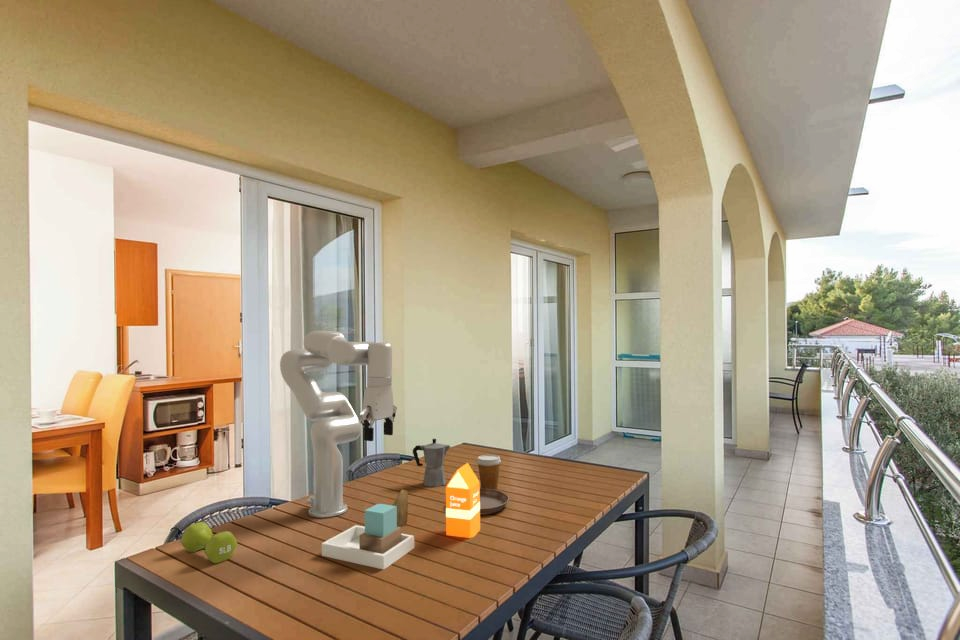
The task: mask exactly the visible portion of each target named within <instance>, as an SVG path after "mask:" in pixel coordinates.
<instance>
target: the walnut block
mask: <svg viewBox="0 0 960 640" xmlns="http://www.w3.org/2000/svg"><path fill="white" fill-rule="evenodd" d="M401 533H402V527H398V526H397V529H396V530H394V531H392V532H391V533H389V534H388V535H386V536H384V537H381V536H375V535H370V534H365V532H364V533H363V534H361V535H360V549H361V550H366V551H371V552H376V553H380V554H384V553H385V552H387V551H388V550H390V549H391V548H393V547H394V546H396V545H397V544H399V543H400V542H401Z"/></svg>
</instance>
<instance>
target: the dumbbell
mask: <svg viewBox="0 0 960 640" xmlns="http://www.w3.org/2000/svg"><path fill="white" fill-rule="evenodd" d="M180 543H181V545H182V547H183V548H184V549H185V550H186V552H189V553H195V551H196V552H199V551H201V549H202V550H204V553H205V556H206V557H207V558H208V560H209V561H210V562H211V563H213V564H219V563H222V562H225V561H227V560H230V558H232V556H233V554H234V553H235V550H236V549H237V545H238V541H237V539H236V537H235V536H234V534H233V533H232V532H230V531H226V530H225V531H222V532H218V533H216V534H214V535H213V531H212V528H210V526H209V525H208V524H207V523H206V522H204V521H200V522H195V523H193V524H189V526H187V527H186V529H185V530H184V532H183V534H182V536H181V538H180ZM198 550H199V551H198Z"/></svg>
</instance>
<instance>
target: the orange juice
mask: <svg viewBox="0 0 960 640" xmlns="http://www.w3.org/2000/svg"><path fill="white" fill-rule="evenodd" d="M480 489H481V483H480V479H479V478H478V476H477V475H476V474H475V472H474V471H473V469H472V468H471V466H470V464H469V463H468V462H466V463H465V464H463V465H462V466H461V467H459V468H458V469H456V471H455V472H454V473H453V475H452V477H451V479H450V480H449V482H448V483H447V485H446V486H445V532H446V534H445V535H446V536H452V537H458V538H459V537H460V538H468V539H471V538H475V536H476V535H477V534H478V533H479V532H480V531H481V515H480Z"/></svg>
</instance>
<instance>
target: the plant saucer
mask: <svg viewBox="0 0 960 640" xmlns="http://www.w3.org/2000/svg"><path fill="white" fill-rule="evenodd" d="M509 501H510V497H509V496H508V494H507V493H505V492H503V491H499V490H498V489H496V490H491V489H481V488H480V516H481V515H490V514H494V513H497V512H499V511H501V510H502V509H503V508H504V507H506V505H507V503H508V502H509Z"/></svg>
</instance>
